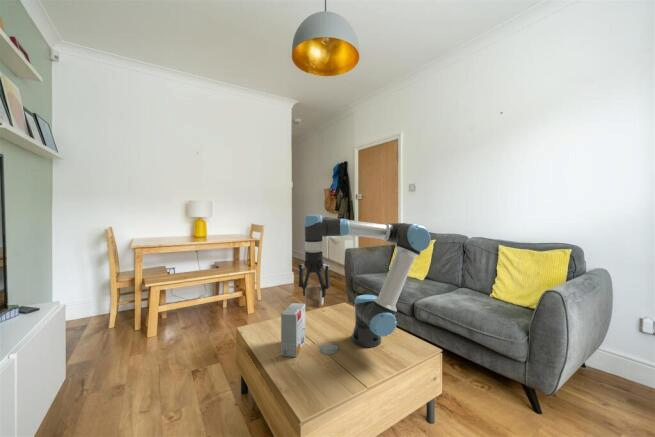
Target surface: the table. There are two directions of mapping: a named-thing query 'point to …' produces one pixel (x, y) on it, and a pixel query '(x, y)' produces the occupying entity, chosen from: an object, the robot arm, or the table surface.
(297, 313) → the hard drive box
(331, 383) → the table surface
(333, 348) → the slate coaster
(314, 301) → the walnut block
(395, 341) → the table surface
